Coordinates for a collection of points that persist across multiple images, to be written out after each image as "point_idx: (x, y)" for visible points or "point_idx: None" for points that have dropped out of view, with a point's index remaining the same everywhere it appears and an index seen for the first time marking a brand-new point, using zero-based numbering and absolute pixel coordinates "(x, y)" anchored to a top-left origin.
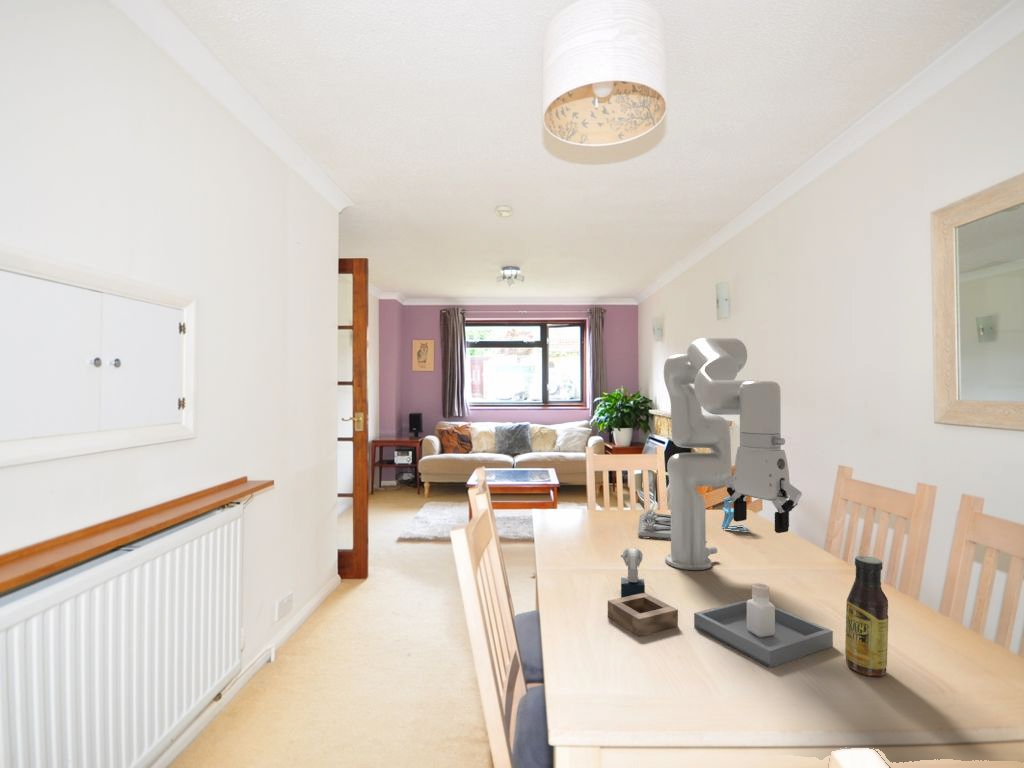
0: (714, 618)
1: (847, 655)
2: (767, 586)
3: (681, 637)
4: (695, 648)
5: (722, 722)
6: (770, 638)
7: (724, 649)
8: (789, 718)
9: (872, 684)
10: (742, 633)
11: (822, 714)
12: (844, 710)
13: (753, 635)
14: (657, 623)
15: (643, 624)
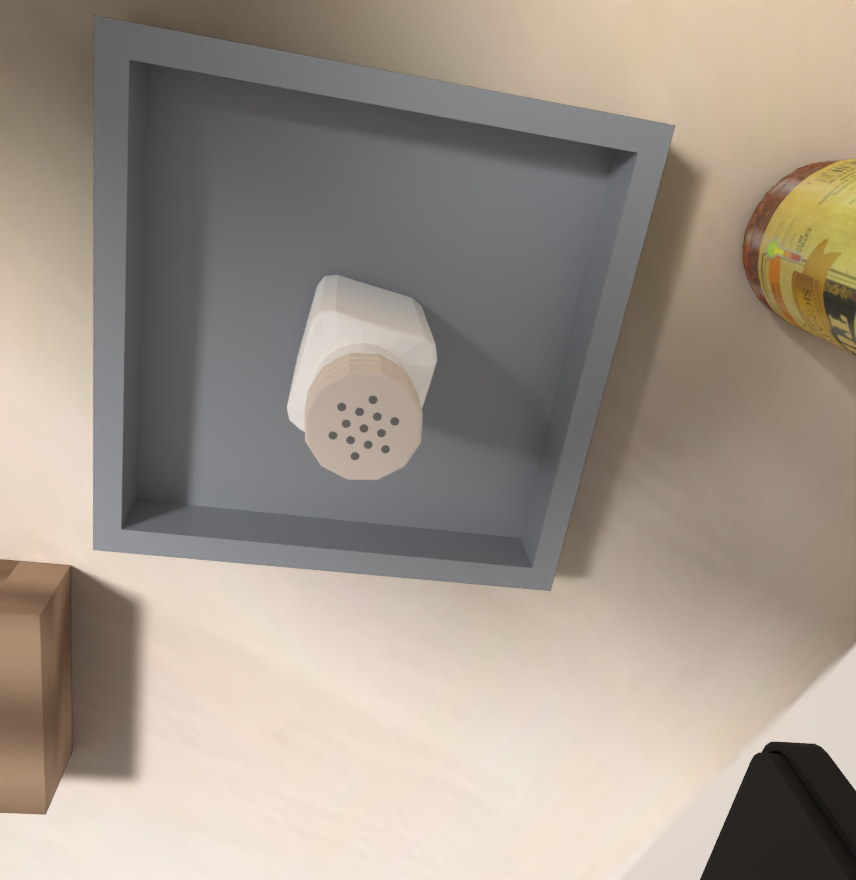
0: (134, 418)
1: (781, 315)
2: (399, 395)
3: (165, 627)
4: (268, 651)
5: (582, 869)
6: None
7: None
8: (698, 737)
9: None
10: None
11: (760, 654)
12: (804, 587)
13: None
14: (58, 696)
15: (55, 769)
